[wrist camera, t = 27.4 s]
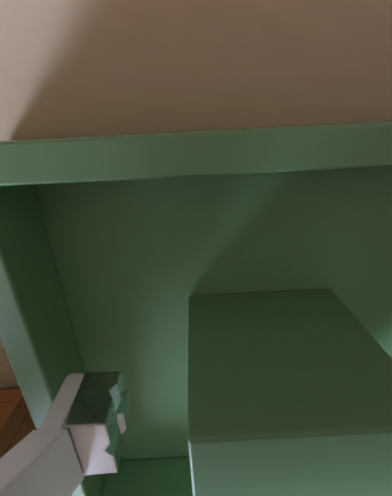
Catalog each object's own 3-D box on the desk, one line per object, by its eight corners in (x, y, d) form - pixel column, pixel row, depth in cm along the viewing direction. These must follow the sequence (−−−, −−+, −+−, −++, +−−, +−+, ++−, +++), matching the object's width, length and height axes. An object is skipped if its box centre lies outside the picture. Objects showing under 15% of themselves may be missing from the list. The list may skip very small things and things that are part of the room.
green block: (188, 294, 9) (187, 441, 5) (330, 287, 9) (454, 427, 5) (195, 396, 11) (199, 568, 6) (314, 389, 11) (393, 556, 6)
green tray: (4, 140, 8) (-81, 146, 5) (509, 114, 8) (659, 108, 5) (98, 457, 13) (77, 532, 10) (393, 441, 13) (440, 513, 10)
